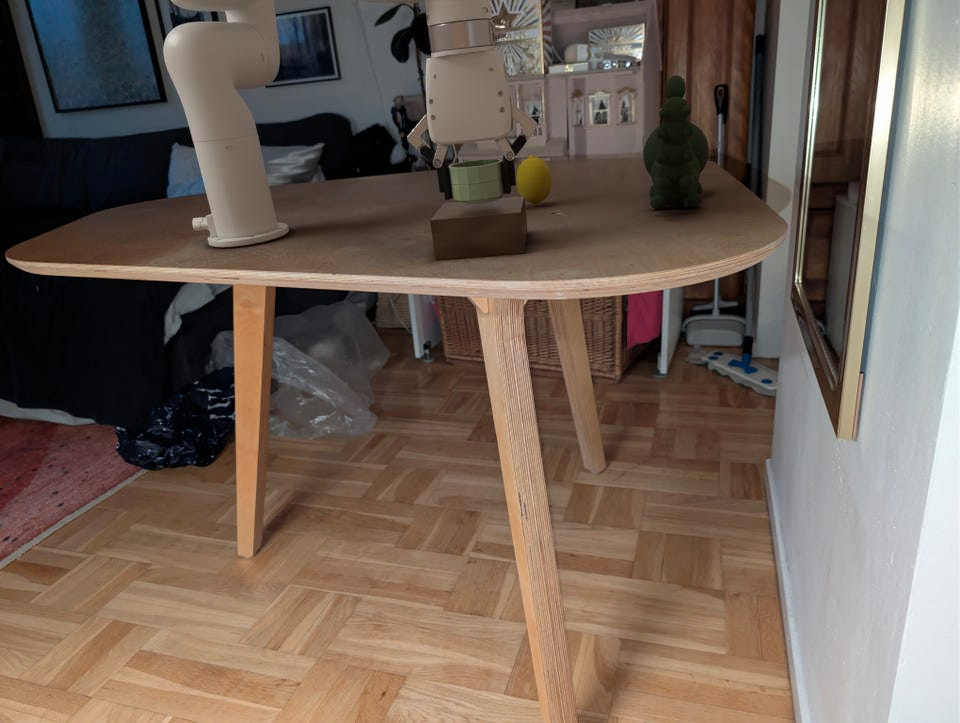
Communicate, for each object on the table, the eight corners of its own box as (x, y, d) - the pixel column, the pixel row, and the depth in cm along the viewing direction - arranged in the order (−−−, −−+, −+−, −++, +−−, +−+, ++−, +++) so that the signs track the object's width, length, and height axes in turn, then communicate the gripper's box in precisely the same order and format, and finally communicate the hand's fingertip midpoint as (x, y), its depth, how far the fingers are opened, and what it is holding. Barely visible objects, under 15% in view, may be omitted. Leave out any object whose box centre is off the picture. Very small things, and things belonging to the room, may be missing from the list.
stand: (435, 260, 87) (429, 220, 85) (448, 239, 97) (443, 203, 95) (523, 253, 85) (520, 212, 83) (527, 232, 95) (524, 195, 93)
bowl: (449, 207, 86) (444, 169, 84) (456, 197, 92) (452, 162, 91) (503, 202, 85) (500, 164, 83) (507, 192, 91) (504, 156, 90)
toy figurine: (712, 231, 92) (706, 180, 113) (716, 77, 83) (708, 54, 104) (638, 234, 95) (646, 184, 116) (635, 86, 86) (643, 61, 107)
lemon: (531, 202, 116) (527, 152, 113) (559, 203, 112) (556, 151, 109) (511, 209, 112) (507, 157, 109) (540, 210, 109) (536, 157, 105)
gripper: (537, 33, 84) (548, 183, 91) (396, 50, 86) (417, 196, 93) (535, 30, 77) (547, 193, 84) (382, 49, 79) (405, 207, 86)
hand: (478, 194), depth 88 cm, fingers closed on bowl, 6 cm apart
